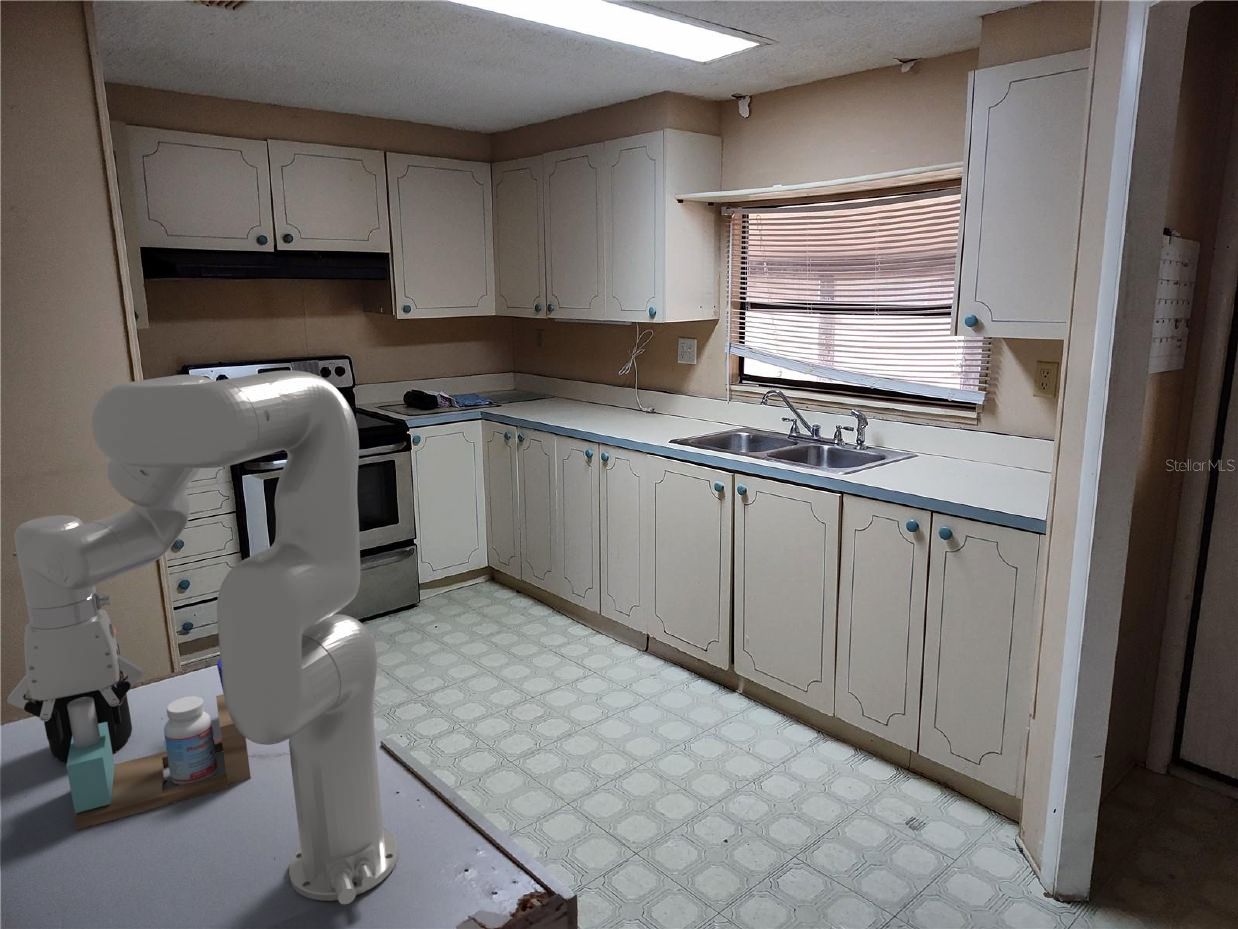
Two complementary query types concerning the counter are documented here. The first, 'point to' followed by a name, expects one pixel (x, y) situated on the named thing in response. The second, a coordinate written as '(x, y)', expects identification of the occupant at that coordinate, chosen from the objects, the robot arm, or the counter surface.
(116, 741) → the coffee jar
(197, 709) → the pill bottle
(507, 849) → the counter surface
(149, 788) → the wooden tray
